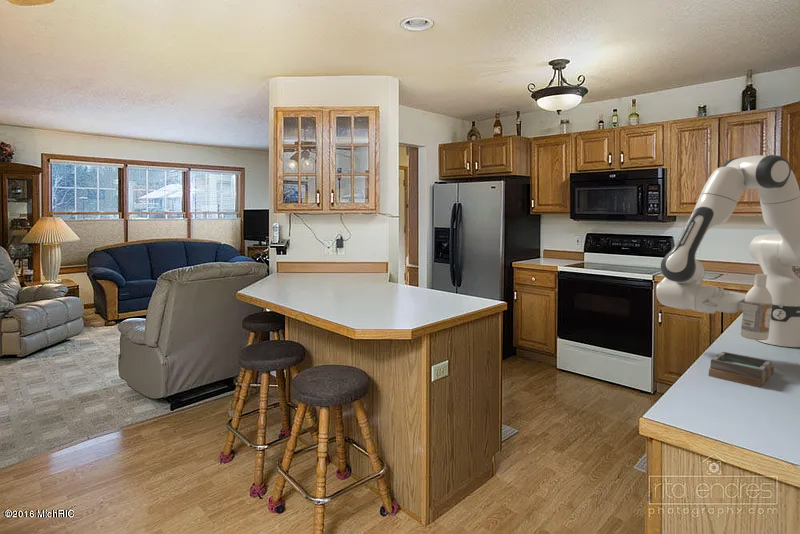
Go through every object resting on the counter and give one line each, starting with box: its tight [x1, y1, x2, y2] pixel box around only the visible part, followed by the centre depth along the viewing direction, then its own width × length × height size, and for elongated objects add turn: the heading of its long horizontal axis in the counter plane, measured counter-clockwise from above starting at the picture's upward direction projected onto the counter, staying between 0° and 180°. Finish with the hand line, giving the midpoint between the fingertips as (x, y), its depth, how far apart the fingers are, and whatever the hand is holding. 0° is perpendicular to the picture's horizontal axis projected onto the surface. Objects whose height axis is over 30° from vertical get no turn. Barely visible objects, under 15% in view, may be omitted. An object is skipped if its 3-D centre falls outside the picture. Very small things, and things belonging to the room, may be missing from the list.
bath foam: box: [740, 273, 772, 341], centre depth 148 cm, size 7×7×20 cm
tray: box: [708, 351, 775, 388], centre depth 139 cm, size 18×12×4 cm, turn 132°
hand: (761, 306), depth 148 cm, fingers closed on bath foam, 7 cm apart
